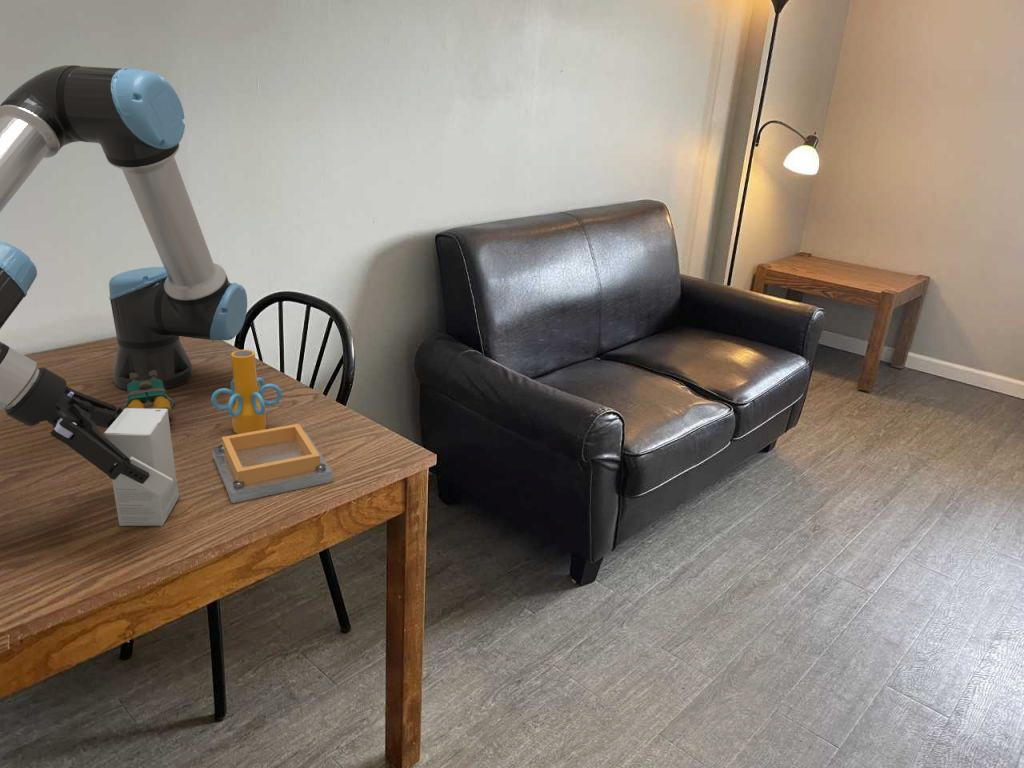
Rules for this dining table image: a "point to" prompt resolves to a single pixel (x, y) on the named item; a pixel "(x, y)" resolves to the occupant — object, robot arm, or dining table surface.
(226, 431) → the dining table surface
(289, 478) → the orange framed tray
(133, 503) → the skincare box
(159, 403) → the binoculars
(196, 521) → the dining table surface
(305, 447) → the frame
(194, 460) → the dining table surface
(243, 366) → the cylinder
